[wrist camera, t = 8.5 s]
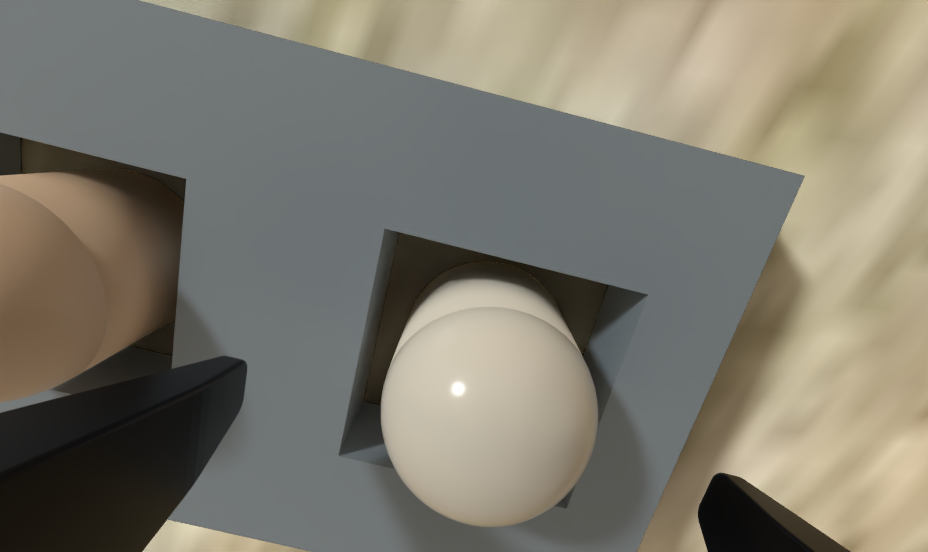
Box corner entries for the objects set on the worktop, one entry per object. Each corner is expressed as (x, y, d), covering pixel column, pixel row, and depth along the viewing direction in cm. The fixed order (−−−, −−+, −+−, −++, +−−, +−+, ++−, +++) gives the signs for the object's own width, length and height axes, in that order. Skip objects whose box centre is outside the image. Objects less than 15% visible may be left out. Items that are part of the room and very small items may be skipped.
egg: (583, 283, 13) (670, 393, 7) (537, 420, 14) (580, 608, 8) (425, 244, 12) (384, 327, 7) (393, 387, 14) (336, 556, 8)
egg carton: (737, 169, 12) (977, 193, 6) (586, 540, 15) (650, 779, 9) (-74, -44, 11) (-661, -242, 5) (-43, 396, 14) (-383, 561, 9)
